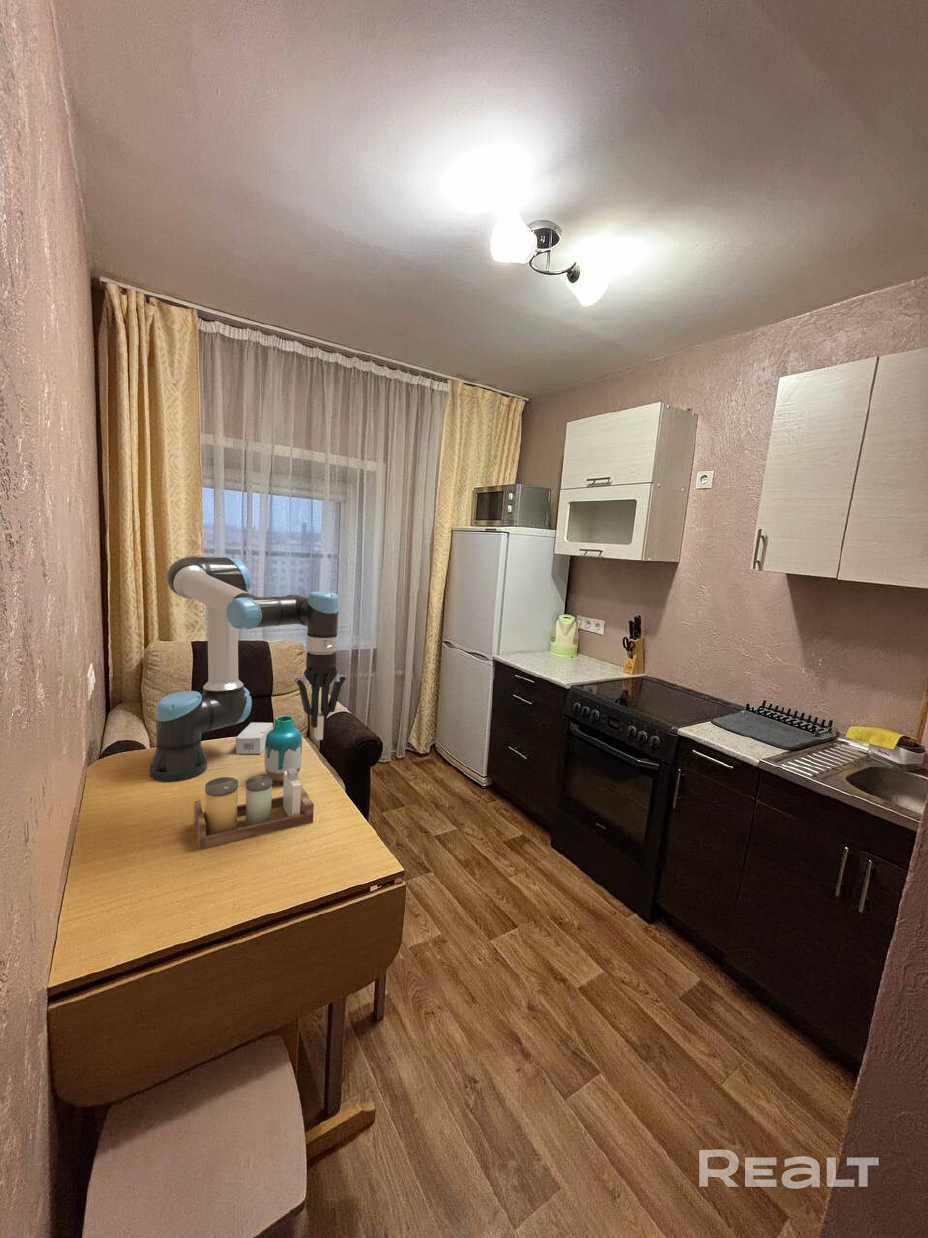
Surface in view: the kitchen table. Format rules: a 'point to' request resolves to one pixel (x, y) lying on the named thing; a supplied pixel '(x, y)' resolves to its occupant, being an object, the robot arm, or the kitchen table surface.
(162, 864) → the kitchen table surface
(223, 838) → the wooden spice rack
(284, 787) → the plate
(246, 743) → the skincare box
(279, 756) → the vase
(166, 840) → the kitchen table surface
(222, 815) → the amber jar
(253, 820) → the sage jar
